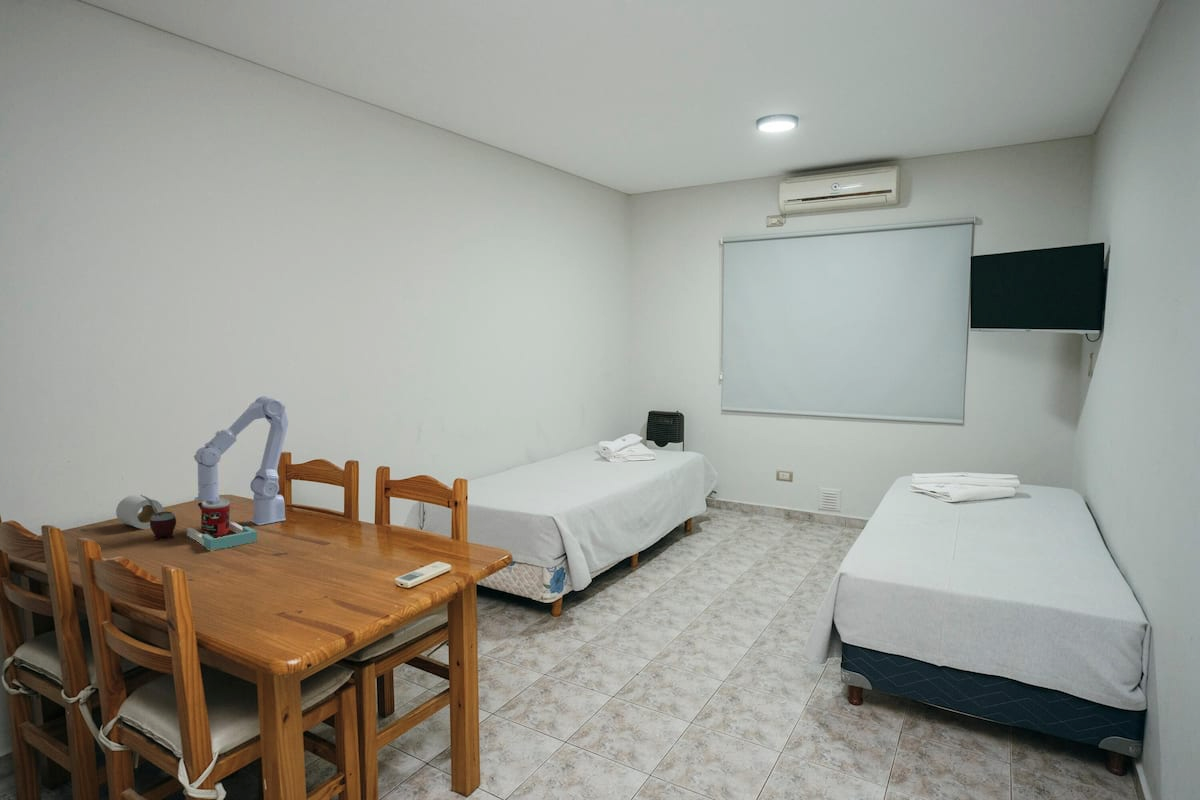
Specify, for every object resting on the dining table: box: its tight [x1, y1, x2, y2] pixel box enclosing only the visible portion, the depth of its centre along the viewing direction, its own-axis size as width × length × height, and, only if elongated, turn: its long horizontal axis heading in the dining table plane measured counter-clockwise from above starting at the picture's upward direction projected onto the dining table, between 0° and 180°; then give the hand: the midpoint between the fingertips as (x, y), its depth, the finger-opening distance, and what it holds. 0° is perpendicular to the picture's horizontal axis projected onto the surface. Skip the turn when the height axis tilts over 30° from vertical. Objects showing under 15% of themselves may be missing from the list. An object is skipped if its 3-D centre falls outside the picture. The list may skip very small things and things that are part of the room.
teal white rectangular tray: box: [186, 520, 258, 550], centre depth 215 cm, size 14×22×4 cm, turn 48°
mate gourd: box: [140, 494, 177, 542], centre depth 214 cm, size 8×8×15 cm
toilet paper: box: [115, 494, 164, 530], centre depth 227 cm, size 10×10×10 cm
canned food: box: [200, 497, 231, 537], centre depth 218 cm, size 8×8×11 cm
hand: (209, 523), depth 222 cm, fingers closed
